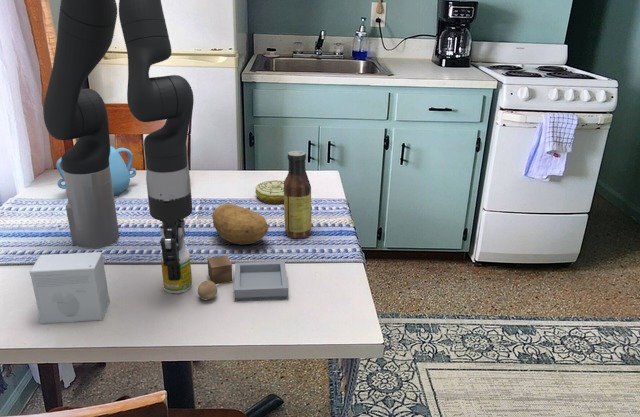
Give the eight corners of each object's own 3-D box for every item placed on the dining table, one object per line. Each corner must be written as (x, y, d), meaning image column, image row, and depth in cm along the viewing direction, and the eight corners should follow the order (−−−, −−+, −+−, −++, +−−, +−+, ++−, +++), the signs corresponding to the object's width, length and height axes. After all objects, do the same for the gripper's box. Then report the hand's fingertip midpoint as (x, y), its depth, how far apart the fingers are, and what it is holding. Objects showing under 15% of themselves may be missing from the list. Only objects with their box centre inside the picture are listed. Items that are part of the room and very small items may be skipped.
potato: (250, 259, 116) (250, 225, 113) (203, 240, 123) (201, 208, 120) (279, 242, 124) (279, 210, 121) (232, 225, 131) (231, 194, 128)
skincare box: (110, 299, 101) (103, 250, 97) (103, 320, 95) (94, 269, 91) (50, 303, 100) (40, 252, 95) (39, 324, 94) (27, 272, 90)
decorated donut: (303, 200, 146) (303, 187, 145) (267, 208, 141) (267, 195, 139) (283, 187, 154) (283, 175, 153) (249, 194, 149) (249, 182, 147)
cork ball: (197, 304, 101) (196, 287, 99) (198, 293, 104) (197, 277, 103) (217, 303, 101) (216, 286, 100) (218, 292, 104) (217, 276, 103)
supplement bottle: (185, 295, 103) (181, 250, 99) (158, 292, 104) (153, 247, 100) (196, 281, 108) (193, 237, 104) (171, 277, 109) (167, 234, 105)
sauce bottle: (316, 234, 128) (319, 153, 120) (297, 242, 124) (299, 160, 116) (297, 225, 132) (298, 146, 124) (278, 233, 128) (277, 152, 120)
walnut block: (212, 285, 107) (211, 267, 105) (208, 275, 110) (207, 258, 109) (232, 281, 108) (231, 264, 107) (227, 272, 112) (227, 254, 110)
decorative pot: (105, 208, 138) (98, 157, 132) (53, 198, 142) (44, 148, 137) (143, 186, 152) (139, 139, 146) (95, 177, 156) (89, 131, 151)
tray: (234, 301, 102) (234, 290, 101) (235, 273, 111) (235, 262, 110) (288, 299, 103) (288, 288, 102) (284, 271, 112) (284, 261, 111)
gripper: (153, 175, 104) (162, 253, 111) (140, 206, 91) (150, 292, 98) (194, 175, 104) (199, 252, 111) (186, 205, 92) (193, 291, 99)
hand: (176, 270), depth 105 cm, fingers closed on supplement bottle, 5 cm apart
